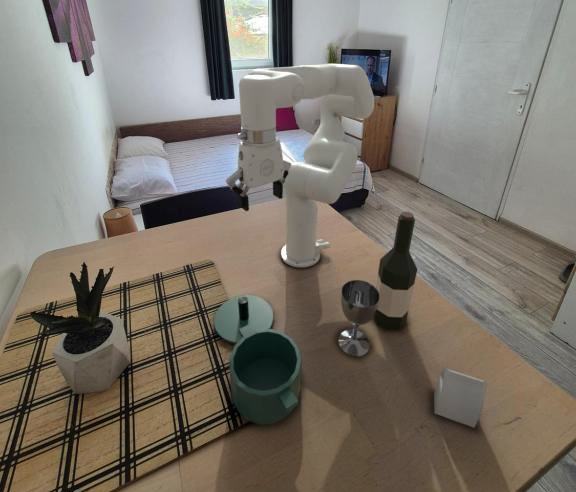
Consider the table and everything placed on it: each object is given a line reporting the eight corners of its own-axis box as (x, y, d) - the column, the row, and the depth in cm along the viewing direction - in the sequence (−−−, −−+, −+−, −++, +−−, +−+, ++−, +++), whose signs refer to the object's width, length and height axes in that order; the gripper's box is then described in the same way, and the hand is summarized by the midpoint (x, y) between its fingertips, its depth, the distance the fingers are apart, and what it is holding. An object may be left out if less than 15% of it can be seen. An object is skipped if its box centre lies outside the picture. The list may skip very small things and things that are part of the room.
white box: (474, 427, 59) (488, 392, 55) (434, 413, 61) (445, 378, 57) (472, 407, 62) (485, 373, 58) (434, 394, 64) (444, 360, 60)
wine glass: (373, 333, 78) (381, 284, 71) (369, 362, 71) (377, 311, 65) (340, 324, 80) (345, 276, 74) (333, 351, 73) (338, 301, 67)
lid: (256, 290, 90) (255, 271, 87) (284, 327, 79) (284, 307, 76) (205, 313, 83) (203, 293, 80) (228, 357, 72) (226, 335, 69)
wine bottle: (407, 310, 84) (429, 210, 72) (403, 335, 77) (426, 228, 65) (375, 300, 87) (390, 202, 75) (368, 323, 80) (384, 219, 68)
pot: (271, 337, 76) (271, 310, 73) (321, 410, 62) (324, 381, 58) (216, 367, 70) (213, 338, 66) (258, 456, 55) (256, 426, 51)
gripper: (232, 147, 64) (238, 221, 71) (300, 131, 73) (299, 197, 81) (215, 137, 69) (222, 207, 76) (280, 124, 79) (280, 187, 86)
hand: (261, 202), depth 78 cm, fingers open, 9 cm apart
